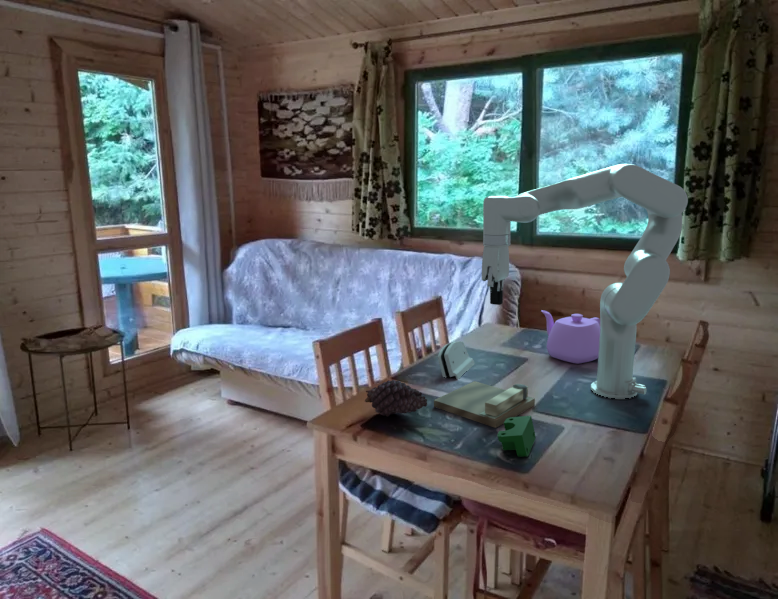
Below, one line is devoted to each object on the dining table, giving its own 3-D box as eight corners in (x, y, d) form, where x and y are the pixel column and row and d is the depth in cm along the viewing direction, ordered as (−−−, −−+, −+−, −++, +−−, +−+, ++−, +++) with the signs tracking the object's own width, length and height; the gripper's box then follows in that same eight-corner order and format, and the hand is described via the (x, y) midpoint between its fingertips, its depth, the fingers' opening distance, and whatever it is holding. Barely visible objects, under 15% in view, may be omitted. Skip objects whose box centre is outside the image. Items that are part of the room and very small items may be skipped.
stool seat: (534, 405, 161) (534, 397, 160) (495, 428, 148) (496, 419, 147) (474, 387, 174) (474, 380, 174) (433, 406, 161) (433, 399, 160)
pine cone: (432, 413, 157) (432, 378, 155) (420, 428, 148) (420, 391, 146) (371, 404, 163) (370, 370, 161) (356, 419, 154) (355, 383, 152)
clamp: (512, 455, 143) (508, 417, 145) (537, 454, 140) (532, 415, 142) (498, 458, 132) (493, 417, 134) (524, 456, 130) (519, 415, 132)
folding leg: (516, 393, 163) (517, 383, 162) (529, 396, 160) (529, 386, 160) (483, 412, 150) (484, 402, 150) (496, 416, 148) (497, 405, 147)
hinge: (458, 380, 180) (447, 349, 180) (444, 383, 183) (434, 352, 182) (475, 363, 195) (465, 335, 194) (462, 366, 197) (453, 338, 197)
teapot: (617, 356, 200) (620, 313, 197) (580, 369, 188) (582, 324, 184) (562, 341, 218) (564, 301, 214) (524, 352, 205) (525, 310, 202)
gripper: (494, 236, 173) (493, 297, 177) (473, 243, 161) (473, 308, 165) (518, 237, 169) (517, 299, 173) (499, 244, 157) (499, 311, 161)
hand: (496, 303), depth 169 cm, fingers closed
